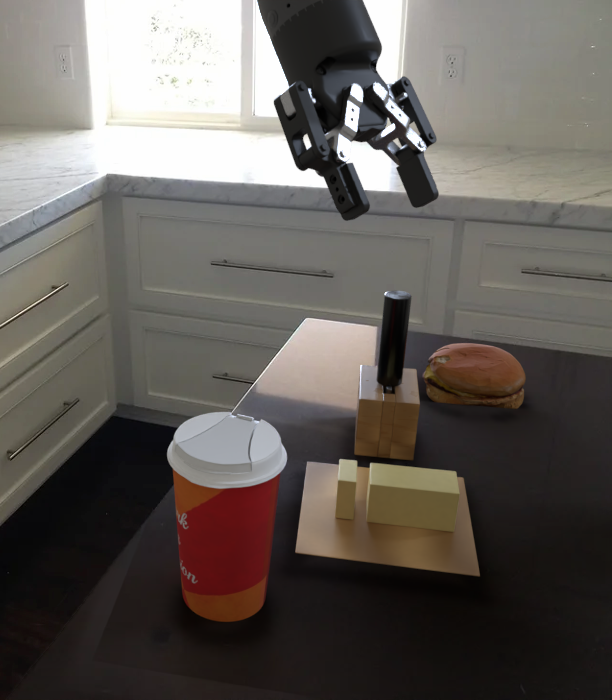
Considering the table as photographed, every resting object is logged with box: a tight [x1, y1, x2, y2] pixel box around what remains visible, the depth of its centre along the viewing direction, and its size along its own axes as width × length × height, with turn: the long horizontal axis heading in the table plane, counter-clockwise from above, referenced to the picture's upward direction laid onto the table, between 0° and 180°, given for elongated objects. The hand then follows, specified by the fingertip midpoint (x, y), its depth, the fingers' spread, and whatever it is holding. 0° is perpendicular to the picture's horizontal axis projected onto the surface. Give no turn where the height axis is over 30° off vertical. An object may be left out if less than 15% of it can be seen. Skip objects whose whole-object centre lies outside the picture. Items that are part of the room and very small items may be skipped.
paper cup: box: [166, 411, 288, 623], centre depth 58 cm, size 8×8×14 cm
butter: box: [366, 462, 460, 532], centre depth 67 cm, size 6×3×4 cm, turn 77°
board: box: [294, 461, 481, 577], centre depth 69 cm, size 13×13×2 cm
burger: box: [421, 342, 527, 410], centre depth 88 cm, size 10×9×5 cm
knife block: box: [353, 364, 421, 461], centre depth 78 cm, size 5×7×7 cm
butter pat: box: [335, 458, 358, 520], centre depth 68 cm, size 1×3×4 cm, turn 167°
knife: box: [376, 290, 413, 394], centre depth 76 cm, size 2×3×15 cm
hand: (393, 209), depth 65 cm, fingers open, 8 cm apart
